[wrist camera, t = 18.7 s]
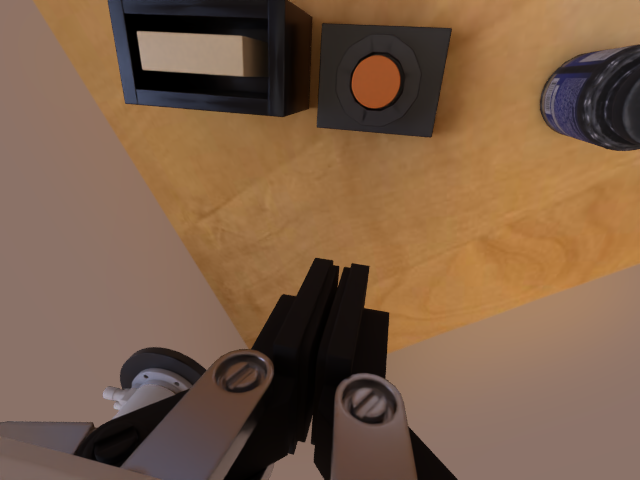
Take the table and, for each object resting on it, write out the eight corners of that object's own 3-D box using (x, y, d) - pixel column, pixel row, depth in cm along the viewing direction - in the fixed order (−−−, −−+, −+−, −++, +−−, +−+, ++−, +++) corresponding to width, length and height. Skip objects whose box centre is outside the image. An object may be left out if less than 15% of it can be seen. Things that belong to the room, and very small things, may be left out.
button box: (321, 124, 33) (311, 130, 30) (327, 26, 30) (316, 19, 26) (429, 133, 32) (433, 141, 28) (448, 31, 28) (455, 24, 25)
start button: (352, 105, 29) (349, 106, 27) (356, 55, 27) (353, 54, 26) (396, 108, 28) (396, 110, 26) (404, 57, 26) (404, 56, 25)
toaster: (179, 98, 35) (124, 103, 28) (170, 11, 32) (105, -7, 25) (309, 109, 33) (283, 117, 26) (312, 16, 30) (285, -2, 23)
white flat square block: (279, 77, 32) (243, 76, 25) (198, 71, 33) (141, 70, 26) (279, 45, 31) (242, 35, 23) (195, 41, 32) (136, 30, 25)
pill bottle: (578, 148, 30) (664, 183, 20) (520, 107, 29) (578, 122, 20) (646, 80, 27) (785, 81, 17) (583, 34, 26) (688, 8, 17)
